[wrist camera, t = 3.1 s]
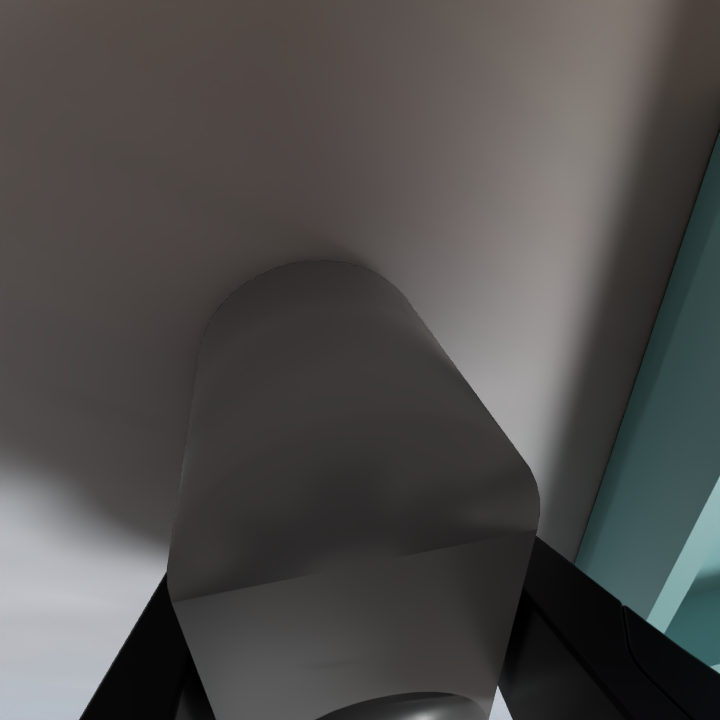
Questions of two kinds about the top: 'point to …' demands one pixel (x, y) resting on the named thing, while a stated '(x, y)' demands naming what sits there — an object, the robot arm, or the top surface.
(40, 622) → the top surface
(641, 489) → the desk tray
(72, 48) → the top surface
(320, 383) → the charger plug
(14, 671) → the top surface
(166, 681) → the robot arm
